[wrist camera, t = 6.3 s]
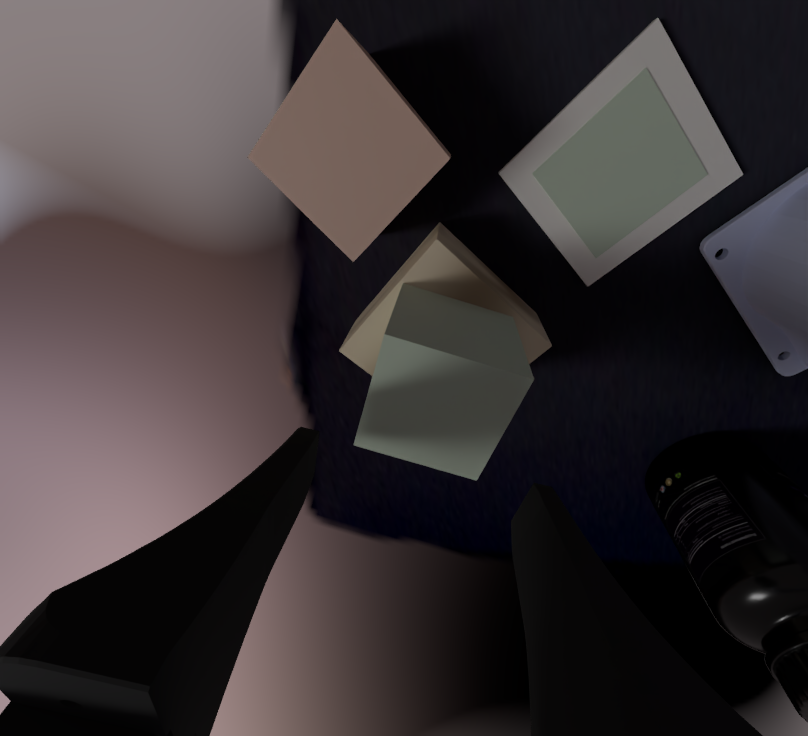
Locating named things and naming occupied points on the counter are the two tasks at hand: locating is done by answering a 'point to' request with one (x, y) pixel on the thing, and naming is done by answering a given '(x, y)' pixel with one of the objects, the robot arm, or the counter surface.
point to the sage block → (444, 383)
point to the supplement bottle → (742, 546)
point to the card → (623, 159)
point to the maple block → (450, 276)
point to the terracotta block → (348, 145)
